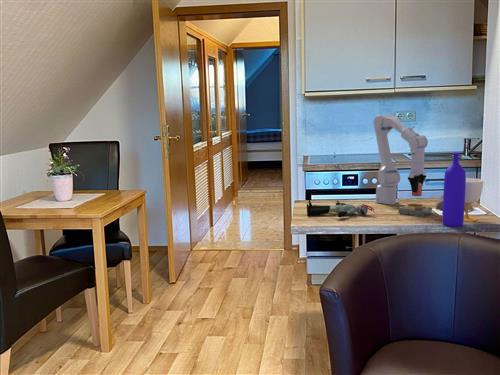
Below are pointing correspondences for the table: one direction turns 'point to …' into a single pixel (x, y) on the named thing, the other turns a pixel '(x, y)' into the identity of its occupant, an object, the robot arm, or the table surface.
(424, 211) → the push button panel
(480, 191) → the cup
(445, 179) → the bottle
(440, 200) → the stone
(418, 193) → the can
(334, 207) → the toy
